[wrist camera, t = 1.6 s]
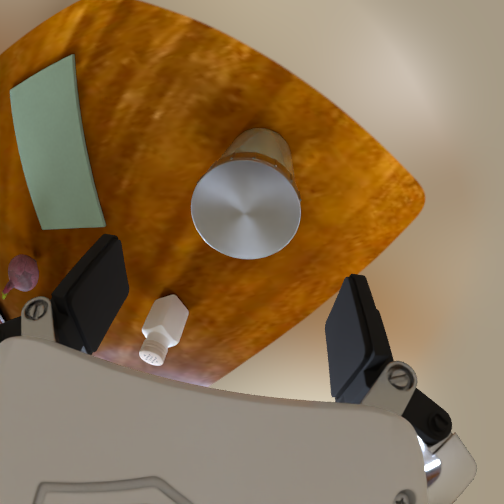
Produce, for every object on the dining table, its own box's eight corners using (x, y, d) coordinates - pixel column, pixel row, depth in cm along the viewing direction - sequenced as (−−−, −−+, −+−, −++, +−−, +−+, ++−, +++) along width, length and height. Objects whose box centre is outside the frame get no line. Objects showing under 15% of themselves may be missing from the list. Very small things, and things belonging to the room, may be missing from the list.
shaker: (226, 129, 24) (188, 162, 15) (291, 127, 23) (299, 159, 14) (231, 187, 27) (202, 252, 18) (291, 187, 27) (296, 254, 17)
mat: (12, 89, 21) (9, 90, 20) (74, 54, 19) (72, 54, 19) (44, 228, 33) (42, 229, 32) (106, 225, 31) (104, 227, 31)
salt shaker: (175, 291, 36) (152, 346, 29) (191, 311, 38) (172, 366, 30) (154, 298, 38) (129, 350, 30) (170, 316, 40) (150, 368, 32)
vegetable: (19, 247, 36) (-14, 281, 28) (36, 242, 35) (-1, 280, 26) (35, 274, 39) (5, 310, 31) (52, 272, 38) (20, 312, 30)
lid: (193, 154, 16) (183, 162, 14) (300, 151, 15) (303, 159, 13) (205, 243, 19) (198, 258, 18) (297, 244, 18) (299, 260, 17)
